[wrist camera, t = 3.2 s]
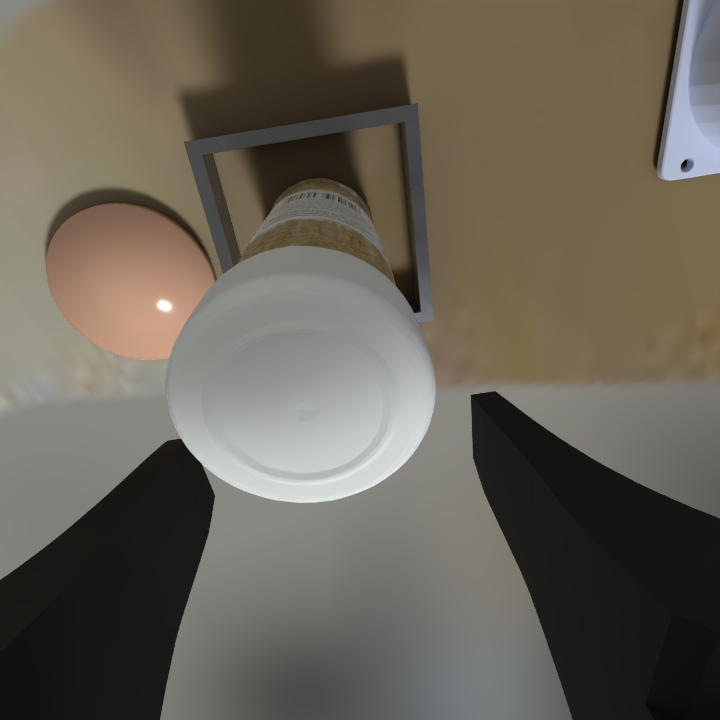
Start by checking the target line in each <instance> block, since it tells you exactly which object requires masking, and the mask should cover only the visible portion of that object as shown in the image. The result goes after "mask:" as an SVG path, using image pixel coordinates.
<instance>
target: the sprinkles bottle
mask: <svg viewBox="0 0 720 720" xmlns="http://www.w3.org/2000/svg"><path fill="white" fill-rule="evenodd" d="M166 393H167V402H168V408H169V411H170V415H171V419H172V421H173V424H174V426H175V428H176V430H177V432H178V434H179V435H180V437H181V439H182V441H183V442H184V444H185V445H186V446H187V448H188V449H189V451H190V452H191V453H192V454H193V455H194V456H195V458H196V459H197V460H198V461H200V462H201V463H202V464H203V465H204V466H205V467H206V468H207V469H209V470H210V471H211V472H212V473H214V474H215V475H216V476H218V477H219V478H221V479H222V480H224V481H226V482H228V483H229V484H231V485H232V486H234V487H237V488H239V489H241V490H243V491H246V492H248V493H252V494H255V495H258V496H261V497H265V498H269V499H273V500H279V501H288V502H300V503H301V502H302V503H309V502H322V501H330V500H335V499H339V498H343V497H347V496H350V495H353V494H356V493H358V492H361V491H363V490H365V489H368V488H370V487H372V486H374V485H376V484H378V483H379V482H381V481H382V480H384V479H385V478H387V477H388V476H390V475H391V474H392V473H394V472H395V471H396V470H397V469H399V468H400V467H401V466H402V465H403V464H404V463H405V462H406V461H407V460H408V459H409V458H410V456H411V455H412V454H413V453H414V452H415V450H416V449H417V447H418V446H419V444H420V442H421V441H422V439H423V437H424V435H425V433H426V431H427V429H428V427H429V424H430V421H431V418H432V414H433V409H434V404H435V393H436V386H435V375H434V370H433V364H432V360H431V357H430V354H429V351H428V348H427V345H426V342H425V340H424V337H423V334H422V331H421V328H420V326H419V324H418V322H417V319H416V317H415V315H414V312H413V310H412V308H411V307H410V305H409V303H408V302H407V300H406V298H405V297H404V296H403V294H402V293H401V292H400V291H399V289H398V288H397V287H396V286H395V281H394V277H393V274H392V271H391V268H390V265H389V263H388V260H387V258H386V255H385V252H384V250H383V247H382V245H381V242H380V240H379V237H378V235H377V232H376V230H375V228H374V225H373V220H372V218H371V215H370V212H369V209H368V207H367V206H366V204H365V202H364V201H363V199H362V198H361V197H360V196H359V195H358V194H357V193H356V192H355V191H354V190H353V189H351V188H350V187H348V186H346V185H344V184H342V183H340V182H338V181H333V180H331V179H327V178H314V179H307V180H303V181H300V182H299V183H297V184H295V185H293V186H291V187H289V188H287V189H286V190H285V191H284V192H283V193H282V194H281V195H280V196H279V197H278V199H277V200H276V201H275V203H274V205H273V207H272V209H271V212H270V214H269V215H268V216H267V218H266V219H265V220H264V222H263V223H262V225H261V226H260V227H259V229H258V230H257V232H256V233H255V234H254V236H253V237H252V239H251V241H250V243H249V245H248V247H247V249H246V250H245V252H244V253H243V255H242V257H241V258H240V260H239V261H238V263H237V265H235V266H234V267H232V268H231V269H230V270H228V271H227V272H225V273H224V274H223V275H222V276H220V277H219V278H218V279H217V280H216V281H215V283H214V284H213V285H212V286H211V287H210V288H209V289H208V291H207V292H206V294H205V295H204V296H203V298H202V299H201V301H200V302H199V303H198V305H197V306H196V308H195V309H194V311H193V312H192V314H191V315H190V317H189V318H188V320H187V321H186V323H185V324H184V326H183V328H182V330H181V332H180V334H179V336H178V337H177V339H176V341H175V343H174V346H173V349H172V352H171V355H170V358H169V362H168V367H167V373H166Z"/></svg>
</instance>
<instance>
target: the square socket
mask: <svg viewBox="0 0 720 720" xmlns="http://www.w3.org/2000/svg"><path fill="white" fill-rule="evenodd" d="M394 123H400V133H401V144H402V155H403V166H404V177H405V188H406V199H407V211H408V222H409V233H410V244H411V255H412V266H413V277H414V288H415V300H413V301H407V302H408V303H409V305H410V307H411V308H412V310H413V312H414V315H415V317H416V319H417V322H418V323H423V322H430V321H433V312H432V298H431V284H430V270H429V256H428V242H427V228H426V214H425V200H424V186H423V172H422V158H421V144H420V130H419V116H418V103H417V104H411V105H405V106H399V107H393V108H387V109H381V110H375V111H368V112H362V113H356V114H350V115H344V116H338V117H332V118H326V119H320V120H314V121H308V122H302V123H296V124H289V125H283V126H277V127H271V128H265V129H259V130H253V131H247V132H241V133H235V134H229V135H223V136H217V137H210V138H204V139H198V140H192V141H186V142H184V144H185V147H186V151H187V154H188V157H189V161H190V164H191V167H192V171H193V174H194V177H195V181H196V184H197V187H198V191H199V194H200V197H201V201H202V204H203V208H204V211H205V214H206V218H207V221H208V224H209V228H210V231H211V234H212V238H213V241H214V244H215V248H216V251H217V254H218V258H219V261H220V264H221V268H222V271H223V274H224V273H225V272H227V271H228V270H230V269H231V268H232V267H234V266H235V265H237V263H238V261H239V260H240V258H241V256H240V252H239V249H238V245H237V241H236V238H235V234H234V230H233V227H232V223H231V219H230V216H229V212H228V209H227V205H226V201H225V198H224V194H223V190H222V187H221V183H220V179H219V176H218V172H217V169H216V165H215V161H214V158H213V154H212V153H217V152H223V151H229V150H235V149H241V148H247V147H253V146H259V145H265V144H272V143H278V142H284V141H290V140H296V139H302V138H308V137H314V136H320V135H327V134H333V133H339V132H345V131H351V130H357V129H363V128H369V127H375V126H382V125H388V124H394Z"/></svg>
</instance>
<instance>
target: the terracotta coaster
mask: <svg viewBox="0 0 720 720" xmlns="http://www.w3.org/2000/svg"><path fill="white" fill-rule="evenodd" d="M46 273H47V280H48V284H49V288H50V291H51V294H52V296H53V298H54V301H55V302H56V304H57V306H58V308H59V309H60V311H61V312H62V314H63V315H64V317H65V318H66V319H67V320H68V322H69V323H70V324H71V325H72V326H73V327H74V328H75V329H76V330H77V331H78V332H79V333H80V334H82V335H83V336H84V337H85V338H87V339H88V340H89V341H91V342H92V343H94V344H96V345H97V346H99V347H101V348H103V349H105V350H107V351H109V352H111V353H114V354H117V355H120V356H123V357H127V358H132V359H139V360H159V359H165V358H170V355H171V352H172V349H173V346H174V343H175V341H176V339H177V337H178V336H179V334H180V332H181V330H182V328H183V326H184V324H185V323H186V321H187V320H188V318H189V317H190V315H191V314H192V312H193V311H194V309H195V308H196V306H197V305H198V303H199V302H200V301H201V299H202V298H203V296H204V295H205V294H206V292H207V291H208V289H209V288H210V287H211V286H212V285H213V284H214V283H215V281H216V280H217V279H216V275H215V272H214V269H213V266H212V264H211V262H210V260H209V258H208V256H207V254H206V252H205V251H204V249H203V248H202V247H201V245H200V244H199V243H198V241H197V240H196V239H195V238H194V237H193V236H192V235H191V234H190V233H189V232H188V231H187V230H186V229H185V228H184V227H183V226H181V225H180V224H179V223H177V222H176V221H174V220H173V219H171V218H170V217H168V216H166V215H164V214H163V213H160V212H158V211H156V210H153V209H151V208H148V207H144V206H141V205H136V204H131V203H105V204H101V205H97V206H93V207H90V208H88V209H85V210H83V211H80V212H78V213H76V214H75V215H73V216H72V217H70V218H69V219H68V220H66V221H65V222H64V223H63V224H62V225H61V226H60V227H59V229H58V230H57V231H56V233H55V234H54V236H53V238H52V240H51V242H50V245H49V248H48V252H47V258H46Z"/></svg>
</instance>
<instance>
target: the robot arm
mask: <svg viewBox="0 0 720 720" xmlns="http://www.w3.org/2000/svg"><path fill="white" fill-rule="evenodd" d="M685 159H686V160H687V165H686V167H685V168H684V169H683V170H682V171H681V164H682V162H683V161H684V160H685ZM715 173H720V0H684V2H683V8H682V14H681V21H680V27H679V33H678V39H677V46H676V52H675V58H674V64H673V71H672V77H671V83H670V89H669V96H668V102H667V108H666V114H665V121H664V127H663V133H662V139H661V146H660V152H659V158H658V164H657V174H658V176H659V178H661V179H664V180H677V179H683V178H690V177H696V176H702V175H709V174H715ZM471 410H472V437H473V438H472V439H473V459H474V462H475V465H476V468H477V472H478V475H479V478H480V481H481V484H482V487H483V490H484V493H485V495H486V497H487V499H488V502H489V504H490V506H491V508H492V511H493V513H494V515H495V517H496V519H497V521H498V523H499V526H500V528H501V530H502V532H503V534H504V536H505V539H506V541H507V542H508V545H509V547H510V549H511V551H512V554H513V556H514V558H515V560H516V562H517V564H518V566H519V568H520V571H521V573H522V575H523V578H524V580H525V583H526V585H527V587H528V590H529V592H530V595H531V598H532V600H533V603H534V606H535V609H536V612H537V615H538V617H539V620H540V623H541V626H542V629H543V632H544V634H545V637H546V640H547V643H548V646H549V649H550V652H551V655H552V658H553V661H554V664H555V667H556V670H557V673H558V676H559V678H560V681H561V685H562V688H563V691H564V694H565V697H566V700H567V703H568V706H569V709H570V713H571V715H572V719H573V720H720V518H717V517H715V516H712V515H710V514H707V513H705V512H702V511H699V510H697V509H695V508H692V507H690V506H687V505H685V504H683V503H681V502H678V501H676V500H674V499H671V498H669V497H667V496H665V495H662V494H660V493H658V492H655V491H653V490H651V489H649V488H647V487H645V486H643V485H641V484H639V483H637V482H634V481H633V480H631V479H629V478H627V477H625V476H623V475H621V474H619V473H617V472H615V471H614V470H612V469H610V468H608V467H606V466H604V465H602V464H601V463H599V462H597V461H595V460H594V459H592V458H590V457H588V456H587V455H585V454H584V453H582V452H581V451H579V450H577V449H576V448H574V447H572V446H571V445H569V444H568V443H566V442H565V441H563V440H561V439H560V438H558V437H557V436H555V435H554V434H553V433H551V432H550V431H548V430H547V429H545V428H544V427H542V426H541V425H540V424H538V423H537V422H535V421H534V420H533V419H531V418H530V417H528V416H527V415H526V414H525V413H523V412H522V411H521V410H519V409H518V408H517V407H515V406H514V405H513V404H511V403H510V402H509V401H508V400H506V399H505V398H503V397H502V396H501V395H500V394H498V393H497V392H496V391H494V392H487V393H480V394H474V395H471ZM214 498H215V495H214V492H213V490H212V488H211V485H210V483H209V480H208V478H207V475H206V473H205V471H204V468H203V466H202V463H201V462H200V461H198V460H197V459H196V458H195V456H194V455H193V454H192V453H191V452H190V451H189V449H188V448H187V446H186V445H185V444H184V442H183V441H182V439H176V440H170V441H167V442H165V443H164V444H163V445H162V446H161V447H159V448H158V449H157V450H156V451H155V452H153V453H152V454H151V455H150V456H149V457H148V458H147V459H146V460H145V461H144V462H142V463H141V464H140V465H139V466H138V467H137V468H136V469H135V470H134V471H133V472H132V473H131V474H129V475H128V476H127V477H126V478H125V479H124V480H123V481H122V482H121V483H120V484H119V485H117V486H116V487H115V488H114V489H113V490H112V491H111V492H110V493H109V494H108V495H107V496H106V497H104V498H103V499H102V500H101V501H100V502H99V503H98V504H96V505H95V506H94V507H93V508H92V509H91V510H89V511H88V512H87V513H86V514H85V515H84V516H83V517H81V518H80V519H79V520H78V521H77V522H75V523H74V524H73V525H72V526H71V527H70V528H68V529H67V530H66V531H65V532H64V533H62V534H61V535H60V536H59V537H57V538H56V539H55V540H54V541H53V542H51V543H50V544H49V545H47V546H46V547H45V548H44V549H42V550H41V551H40V552H38V553H37V554H36V555H34V556H33V557H31V558H30V559H29V560H28V561H26V562H25V563H23V564H22V565H21V566H20V567H18V568H17V569H15V570H14V571H13V572H11V573H10V574H8V575H7V576H5V577H4V578H2V579H1V580H0V720H160V716H161V711H162V705H163V700H164V694H165V689H166V684H167V679H168V674H169V670H170V665H171V660H172V655H173V651H174V646H175V642H176V638H177V634H178V630H179V626H180V623H181V620H182V616H183V613H184V610H185V607H186V604H187V601H188V598H189V594H190V591H191V588H192V585H193V582H194V579H195V575H196V572H197V569H198V566H199V563H200V559H201V556H202V553H203V550H204V547H205V543H206V540H207V537H208V533H209V528H210V523H211V518H212V511H213V505H214Z"/></svg>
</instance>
